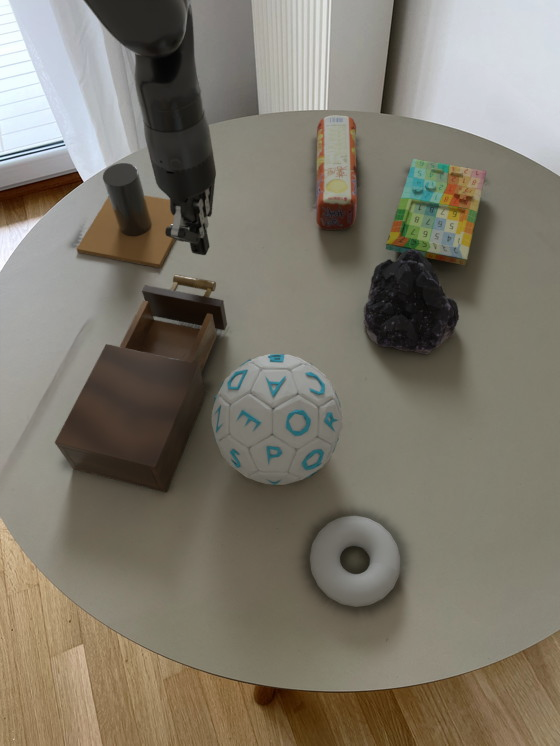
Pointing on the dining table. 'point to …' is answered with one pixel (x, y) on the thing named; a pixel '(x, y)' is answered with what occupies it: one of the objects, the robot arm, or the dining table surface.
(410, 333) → the crystal cluster
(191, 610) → the dining table surface
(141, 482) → the cabinet
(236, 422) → the puzzle ball
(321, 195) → the snack package
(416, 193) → the puzzle game
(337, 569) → the donut
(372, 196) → the dining table surface
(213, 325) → the drawer
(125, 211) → the dark grey cylinder
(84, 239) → the cork mat
